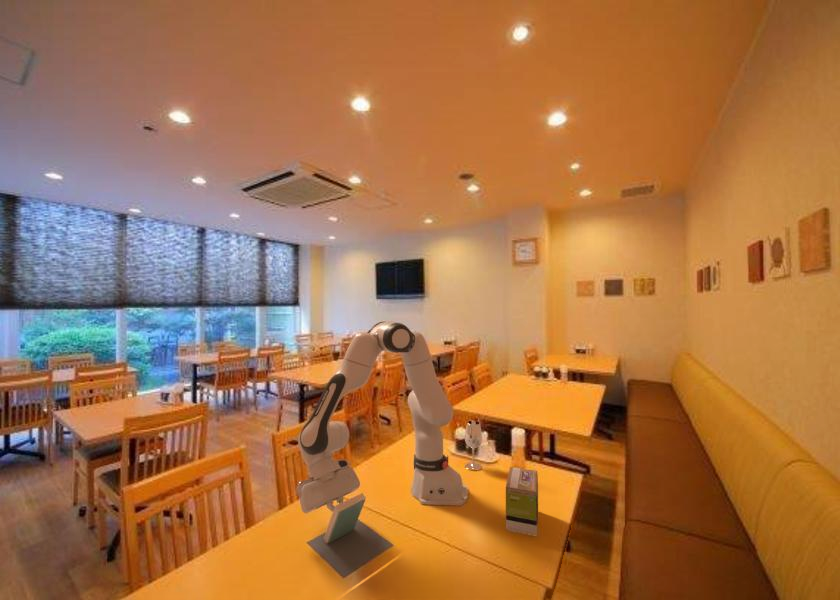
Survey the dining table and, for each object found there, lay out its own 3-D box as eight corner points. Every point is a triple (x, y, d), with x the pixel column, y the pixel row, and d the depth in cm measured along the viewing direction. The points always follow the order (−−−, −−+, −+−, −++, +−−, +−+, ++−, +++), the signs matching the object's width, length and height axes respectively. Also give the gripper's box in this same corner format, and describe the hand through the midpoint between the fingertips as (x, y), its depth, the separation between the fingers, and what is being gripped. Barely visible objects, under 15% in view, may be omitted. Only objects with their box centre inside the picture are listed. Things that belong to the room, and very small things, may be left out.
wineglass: (462, 463, 163) (463, 419, 163) (479, 462, 164) (479, 419, 164) (466, 471, 155) (466, 425, 155) (484, 470, 156) (484, 425, 156)
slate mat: (306, 544, 109) (306, 542, 109) (354, 518, 122) (354, 516, 122) (343, 580, 95) (343, 578, 95) (393, 546, 108) (393, 545, 108)
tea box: (509, 505, 130) (509, 465, 130) (538, 511, 126) (538, 469, 126) (505, 530, 116) (505, 485, 116) (537, 537, 112) (537, 491, 112)
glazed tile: (323, 538, 109) (335, 506, 105) (350, 523, 116) (362, 493, 112) (327, 545, 108) (339, 512, 103) (354, 529, 115) (366, 499, 111)
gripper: (297, 479, 110) (313, 525, 103) (352, 458, 125) (369, 497, 118) (290, 488, 113) (305, 533, 106) (345, 467, 128) (361, 505, 121)
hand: (339, 514), depth 112 cm, fingers closed
